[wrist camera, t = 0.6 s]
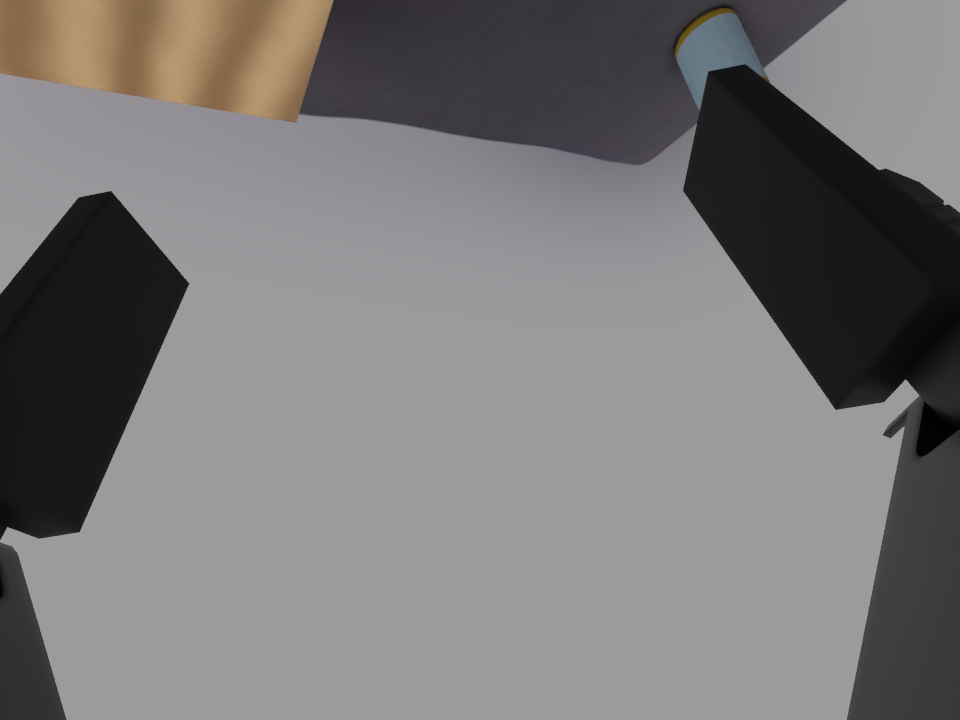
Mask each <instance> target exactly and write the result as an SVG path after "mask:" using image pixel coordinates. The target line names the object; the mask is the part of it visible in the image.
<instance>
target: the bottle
mask: <svg viewBox="0 0 960 720" xmlns="http://www.w3.org/2000/svg"><path fill="white" fill-rule="evenodd" d="M675 58H676V60H677V63H678V65H679V67H680V69H681V71H682V74H683V76H684V78H685V80H686V83H687V85H688V87H689V89H690V91H691V94H692V96H693V98H694V100H695V103H696V105H697V107H698V109H699V111H700V108H701V103H702V98H703V94H704V89H705V84H706V79H707V75H708V71H713V70H718V69H723V68H728V67H733V66H738V65H743V64H746V65H747V66H749V67H750V68H751V69H752V70H754V71H755V72H756V73H758V74H759V75H760V76H761V77H763V78H764V79H765V80H766V81H768V82H769V80H768V78H767V75H766V74H765V71H764V69H763V67H762V65H761V63H760V61H759V59H758V57H757V55H756V53H755V51H754V49H753V47H752V45H751V43H750V41H749V39H748V37H747V35H746V33H745V31H744V29H743V27H742V25H741V23H740V21H739V19H738V17H737V15H736V13H735V12H734V10H731V9H728V8H719V9H714V10H711V11H709V12H706V13H705V14H703V15H701V16H700V17H698V18H697V19H696V20H695V21H693V22H692V23H691V24H690V25H689V26H688V27H687V28H686V29H685V31H684V32H683V33H682V35H681V37H680V38H679V40H678V43H677V46H676V49H675Z"/></svg>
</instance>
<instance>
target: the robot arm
mask: <svg viewBox="0 0 960 720" xmlns="http://www.w3.org/2000/svg"><path fill="white" fill-rule="evenodd" d="M683 191H684V193H685V194H686V196H687V197H688V198H689V200H690V201H691V203H692V204H693V205H694V207H695V208H696V210H697V211H698V213H699V214H700V216H701V217H702V218H703V220H704V221H705V222H706V224H707V225H708V227H709V229H710V230H711V231H712V233H713V234H714V236H715V237H716V239H717V240H718V241H719V243H720V244H721V246H722V247H723V249H724V250H725V252H726V253H727V254H728V256H729V257H730V259H731V260H732V262H733V263H734V264H735V266H736V267H737V269H738V270H739V272H740V273H741V275H742V276H743V277H744V279H745V280H746V282H747V283H748V285H749V286H750V287H751V289H752V290H753V292H754V293H755V295H756V296H757V297H758V299H759V300H760V302H761V303H762V305H763V306H764V308H765V309H766V310H767V312H768V313H769V315H770V316H771V318H772V319H773V320H774V322H775V323H776V324H777V326H778V328H779V329H780V330H781V332H782V333H783V335H784V336H785V338H786V339H787V340H788V342H789V343H790V345H791V346H792V348H793V349H794V350H795V352H796V353H797V355H798V356H799V358H800V359H801V360H802V362H803V363H804V365H805V366H806V368H807V369H808V371H809V372H810V374H811V375H812V376H813V378H814V379H815V380H816V382H817V383H818V385H819V386H820V388H821V389H822V390H823V392H824V393H825V395H826V396H827V398H828V399H829V401H830V402H831V404H832V405H833V407H834V408H835V409H836V410H838V409H843V408H849V407H856V406H862V405H868V404H875V403H881V402H884V401H885V400H886V399H887V398H888V397H889V396H890V395H891V394H892V393H893V392H894V391H895V390H896V389H897V388H898V387H899V386H900V385H901V384H902V382H903V381H904V380H905V379H906V380H907V381H908V382H909V383H910V385H911V386H912V387H913V388H914V389H915V390H916V391H917V393H918V394H919V395H920V396H919V397H918V398H917V399H916V400H915V401H913V403H911V404H910V405H909V406H908V407H907V408H906V409H905V410H904V411H903V412H902V413H901V414H900V415H899V416H898V417H897V418H896V419H895V420H894V421H893V422H892V423H891V424H890V425H889V426H888V427H887V429H886V430H885V432H884V434H883V435H884V436H887V437H889V438H891V437H892V436H894V435H895V434H896V433H897V432H898V431H899V430H900V429H901V428H902V427H905V429H904V435H903V439H902V445H901V450H900V455H899V460H898V465H897V470H896V475H895V480H894V485H893V491H892V495H891V500H890V505H889V510H888V516H887V520H886V526H885V530H884V536H883V541H882V546H881V551H880V556H879V561H878V566H877V571H876V576H875V581H874V586H873V591H872V596H871V601H870V606H869V612H868V616H867V622H866V627H865V631H864V637H863V642H862V647H861V652H860V657H859V662H858V667H857V672H856V677H855V682H854V687H853V692H852V697H851V702H850V707H849V713H848V717H847V720H960V213H959V212H958V211H957V210H955V209H954V208H953V207H951V206H950V205H944V204H943V202H944V201H943V200H942V199H941V198H940V197H938V196H937V195H935V194H934V193H933V192H932V191H930V190H929V189H928V188H926V187H925V186H924V185H922V184H921V183H920V182H917V181H915V180H912V179H910V178H908V177H905V176H902V175H900V174H898V173H895V172H893V171H890V170H888V169H883V170H878V169H876V168H875V167H874V166H873V165H871V164H870V163H869V162H868V161H866V160H865V159H864V158H863V157H861V156H860V155H859V154H858V153H856V152H855V151H854V150H853V149H851V148H850V147H849V146H848V145H846V144H845V143H844V142H843V141H841V140H840V139H839V138H838V137H836V136H835V135H834V134H833V133H831V132H830V131H829V130H828V129H826V128H825V127H824V126H823V125H821V124H820V123H819V122H818V121H816V120H815V119H814V118H813V117H811V116H810V115H809V114H808V113H806V112H805V111H804V110H803V109H801V108H800V107H799V106H798V105H796V104H795V103H794V102H792V101H791V100H790V99H789V98H787V97H786V96H785V95H784V94H782V93H781V92H780V91H779V90H778V89H776V88H775V87H774V86H773V85H771V84H770V83H769V82H768V81H766V80H765V79H764V78H763V77H761V76H760V75H759V74H758V73H756V72H755V71H754V70H752V69H751V68H750V67H749V66H747V65H746V64H743V65H738V66H733V67H728V68H723V69H718V70H713V71H708V75H707V79H706V84H705V89H704V94H703V98H702V103H701V108H700V113H699V117H698V122H697V127H696V132H695V137H694V142H693V146H692V151H691V155H690V160H689V165H688V170H687V175H686V179H685V184H684V189H683ZM188 285H189V283H188V282H187V281H186V279H185V278H184V277H183V276H182V275H181V273H180V272H179V271H178V270H177V269H176V267H175V266H174V265H173V264H172V263H171V262H170V260H169V259H168V258H167V257H166V256H165V254H164V253H163V252H162V251H161V250H160V249H159V247H158V246H157V245H156V244H155V243H154V242H153V240H152V239H151V238H150V237H149V236H148V234H147V233H146V232H145V231H144V230H143V228H142V227H141V226H140V225H139V224H138V222H137V221H136V220H135V219H134V218H133V217H132V215H131V214H130V213H129V212H128V211H127V209H126V208H125V207H124V206H123V205H122V203H121V202H120V201H119V200H118V199H117V198H116V196H115V195H114V194H113V193H112V192H111V191H109V192H105V193H99V194H94V195H90V196H84V197H80V198H78V199H77V200H76V202H75V203H74V204H73V205H72V207H71V208H70V209H69V210H68V212H67V213H66V214H65V215H64V216H63V218H62V219H61V220H60V221H59V223H58V224H57V225H56V226H55V227H54V229H53V230H52V231H51V232H50V234H49V235H48V236H47V237H46V239H45V240H44V241H43V242H42V244H41V245H40V246H39V247H38V249H37V250H36V251H35V252H34V253H33V255H32V256H31V257H30V259H29V260H28V261H27V262H26V263H25V265H24V266H23V267H22V268H21V270H20V271H19V272H18V273H17V274H16V276H15V277H14V278H13V279H12V281H11V282H10V283H9V285H8V286H7V287H6V288H5V289H4V291H3V292H2V293H1V294H0V539H1V538H2V536H3V534H4V532H5V530H6V528H7V527H9V528H12V529H15V530H18V531H20V532H23V533H25V534H28V535H31V536H34V537H36V538H45V537H51V536H58V535H64V534H70V533H76V532H80V530H81V527H82V525H83V523H84V520H85V518H86V516H87V514H88V512H89V509H90V507H91V505H92V502H93V500H94V498H95V496H96V493H97V491H98V489H99V487H100V484H101V482H102V479H103V478H104V475H105V473H106V471H107V468H108V466H109V464H110V462H111V459H112V457H113V455H114V453H115V450H116V448H117V446H118V444H119V441H120V439H121V437H122V434H123V432H124V430H125V428H126V425H127V423H128V421H129V418H130V416H131V414H132V412H133V409H134V407H135V405H136V403H137V401H138V398H139V396H140V394H141V391H142V389H143V387H144V385H145V382H146V380H147V378H148V376H149V373H150V371H151V369H152V367H153V364H154V362H155V360H156V357H157V355H158V353H159V351H160V348H161V346H162V344H163V342H164V339H165V337H166V335H167V332H168V330H169V328H170V326H171V323H172V321H173V319H174V317H175V314H176V312H177V310H178V308H179V305H180V303H181V301H182V299H183V296H184V294H185V292H186V289H187V287H188ZM0 720H66V717H65V714H64V710H63V707H62V704H61V700H60V697H59V693H58V690H57V687H56V683H55V680H54V676H53V673H52V670H51V666H50V662H49V659H48V656H47V652H46V649H45V646H44V642H43V639H42V635H41V632H40V628H39V625H38V622H37V618H36V615H35V612H34V608H33V605H32V601H31V598H30V595H29V591H28V588H27V584H26V581H25V578H24V574H23V571H22V567H21V564H20V560H19V557H18V554H17V552H16V551H15V550H14V548H13V547H12V546H9V545H5V544H2V543H0Z"/></svg>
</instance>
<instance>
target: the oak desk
mask: <svg viewBox="0 0 960 720" xmlns="http://www.w3.org/2000/svg"><path fill="white" fill-rule="evenodd" d="M333 1H334V0H0V73H1V74H7V75H13V76H19V77H25V78H31V79H37V80H43V81H49V82H55V83H61V84H67V85H74V86H79V87H85V88H91V89H97V90H103V91H109V92H116V93H122V94H127V95H133V96H139V97H145V98H152V99H157V100H163V101H169V102H175V103H181V104H187V105H193V106H200V107H205V108H211V109H217V110H223V111H229V112H236V113H242V114H248V115H254V116H259V117H265V118H271V119H277V120H284V121H290V122H296V121H297V117H298V114H299V111H300V108H301V105H302V101H303V98H304V95H305V92H306V88H307V85H308V82H309V79H310V75H311V72H312V69H313V66H314V63H315V59H316V56H317V53H318V50H319V46H320V43H321V40H322V37H323V33H324V30H325V27H326V24H327V20H328V17H329V14H330V11H331V7H332V4H333Z"/></svg>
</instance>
